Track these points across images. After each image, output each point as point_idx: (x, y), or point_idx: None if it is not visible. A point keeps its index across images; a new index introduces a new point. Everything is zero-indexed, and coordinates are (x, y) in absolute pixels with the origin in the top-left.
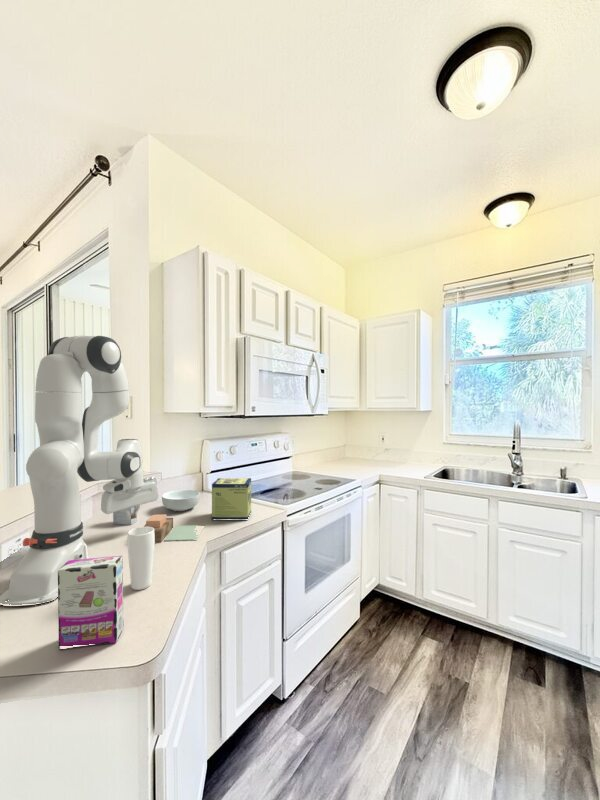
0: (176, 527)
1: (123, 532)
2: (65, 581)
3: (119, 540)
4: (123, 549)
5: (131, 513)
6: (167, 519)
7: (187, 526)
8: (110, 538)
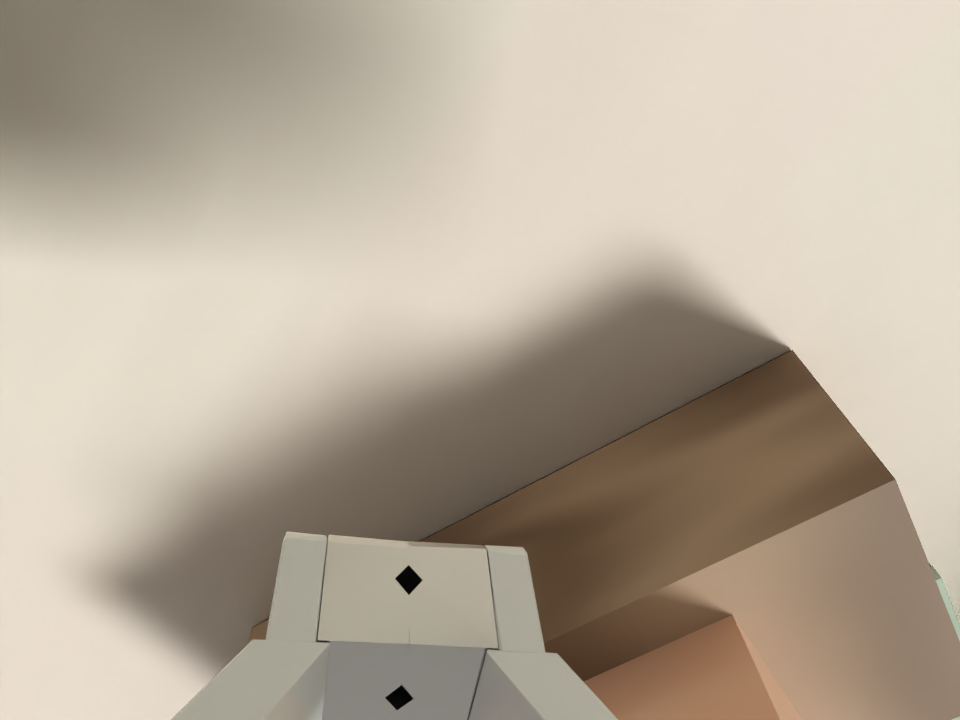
0: None
1: (388, 24)
2: None
3: (105, 351)
4: (6, 651)
5: (418, 660)
6: (881, 707)
7: None
8: (8, 100)
